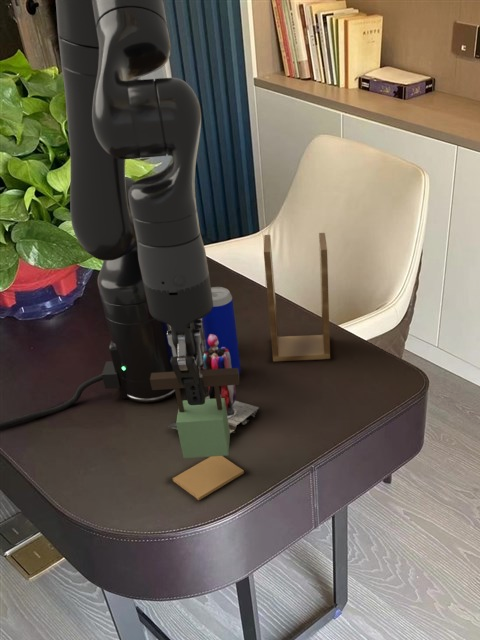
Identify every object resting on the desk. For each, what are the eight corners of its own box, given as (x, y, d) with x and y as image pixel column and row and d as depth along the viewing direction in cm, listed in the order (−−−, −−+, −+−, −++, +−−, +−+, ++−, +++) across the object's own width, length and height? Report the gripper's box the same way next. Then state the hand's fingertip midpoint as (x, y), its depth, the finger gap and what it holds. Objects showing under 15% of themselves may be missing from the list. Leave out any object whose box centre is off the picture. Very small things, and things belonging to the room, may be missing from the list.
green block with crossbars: (164, 459, 97) (148, 387, 89) (168, 437, 101) (153, 365, 93) (247, 454, 97) (237, 381, 90) (248, 432, 101) (238, 360, 94)
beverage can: (244, 367, 125) (234, 286, 115) (237, 383, 121) (227, 301, 111) (214, 365, 125) (203, 285, 116) (207, 382, 121) (194, 300, 112)
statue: (212, 404, 118) (205, 317, 110) (259, 419, 115) (256, 330, 107) (167, 432, 110) (157, 341, 102) (217, 449, 107) (210, 356, 98)
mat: (199, 500, 98) (198, 497, 98) (172, 481, 102) (172, 478, 101) (244, 473, 103) (243, 470, 103) (217, 455, 106) (217, 452, 106)
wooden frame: (273, 361, 126) (263, 251, 114) (273, 341, 132) (264, 234, 119) (330, 359, 127) (327, 249, 114) (328, 339, 132) (324, 232, 119)
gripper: (149, 250, 88) (173, 372, 99) (133, 302, 77) (162, 431, 88) (211, 247, 88) (228, 369, 99) (204, 298, 78) (224, 428, 89)
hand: (197, 398), depth 94 cm, fingers closed on green block with crossbars
